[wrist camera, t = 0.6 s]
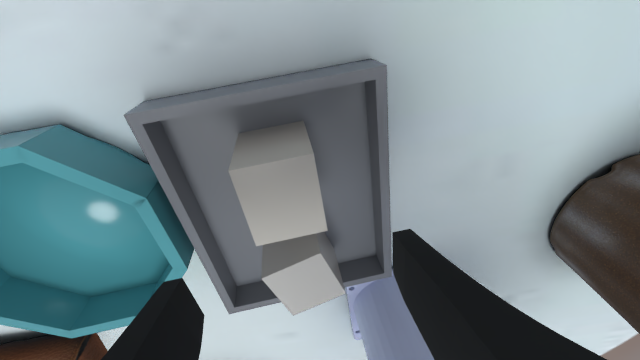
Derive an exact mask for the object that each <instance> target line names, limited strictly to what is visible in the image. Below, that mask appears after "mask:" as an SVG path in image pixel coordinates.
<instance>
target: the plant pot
mask: <svg viewBox="0 0 640 360" xmlns="http://www.w3.org/2000/svg"><path fill="white" fill-rule="evenodd" d="M550 243H551V244H552V246H553V247H554V249H555V253H556V254H557V255H558V256H559V257H560V258H561V259H562V260H563V261H564V262H565V263H566V264H567V265H568V266H569V267H571V268H572V269H573V270H574V271H575V272H576V273H577V274H578V275H579V276H580V277H581V278H582V279H583V280H584V281H585V282H586V283H587V284H588V285H589V286H590V287H591V288H592V289H594V290H595V291H596V292H597V293H598V294H599V295H600V296H601V297H602V298H603V299H604V300H605V301H606V302H607V303H608V304H609V305H610V306H611V307H612V308H613V309H615V310H616V311H617V312H618V313H619V314H620V315H621V316H622V317H623V318H624V319H625V320H626V321H627V322H628V323H629V324H630V325H631V326H632V327H633V328H634V329H635V330H636V331H637V332H638V333H639V334H640V154H639V155H636V156H632V157H629V158H626V159H624V160H621V161H619V162H617V163H615V164H613V165H612V170H611V171H610V172H609V173H607V174H606V175H603V176H601V177H598V178H594V179H590V180H588V181H587V182H586V183H585V184H584V185H582V186H581V187H580V188H579V189H578V190H577V191H576V192H575V193H574V194H573V195H572V196H571V197H570V199H569V200H568V201H567V202H566V203H565V205H564V206H563V208H562V209H561V211H560V212H559V214H558V216H557V217H556V219H555V222H554V224H553V226H552V230H551V234H550Z"/></svg>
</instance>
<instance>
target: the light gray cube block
mask: <svg viewBox="0 0 640 360" xmlns="http://www.w3.org/2000/svg"><path fill="white" fill-rule="evenodd" d="M261 279H262V280H263V281H264V282H265V284H266V285H267V286H268V287H269V288H270V289H271V290H272V292H273V293H274V294H275V295H276V296H277V297H278V299H279V300H280V301H281V302H282V303H283V304H284V305H285V307H286V308H287V309H288V310H289V311H290V312H291V313H292V315H293V316H294V315H296V314H298V313H301V312H303V311H306V310H308V309H310V308H313V307H315V306H318V305H320V304H322V303H325V302H327V301H330V300H332V299H334V298H337V297H339V296H341V295H344V294H346V292H345V288H344V284H343V280H342V277H341V273H340V269H339V266H338V262H337V258H336V255H335V251H334V248H333V246H332V244H331V243H330V241H329V239H328V237H327V236H326V234H325V232H320V233H315V234H310V235H306V236H301V237H297V238H292V239H288V240H283V241H278V242H274V243H269V244H265V245H263V247H262V275H261Z"/></svg>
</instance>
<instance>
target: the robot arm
mask: <svg viewBox="0 0 640 360" xmlns="http://www.w3.org/2000/svg"><path fill="white" fill-rule="evenodd" d="M346 292H347V299H348V305H349V311H350V318H351V324H352V330H353V336H354V339H356V340H359V339H362V340H363V344H364V347H365V351H366V354H367V358H368V360H607V359H604V358H603V357H601V356H599V355H597V354H595V353H593V352H592V351H590V350H588V349H586V348H584V347H582V346H580V345H578V344H577V343H575V342H573V341H571V340H569V339H567V338H565V337H564V336H562V335H560V334H558V333H556V332H555V331H553V330H551V329H549V328H548V327H546V326H544V325H543V324H541V323H539V322H537V321H536V320H534V319H533V318H531V317H529V316H528V315H526V314H524V313H523V312H521V311H520V310H518V309H516V308H515V307H513V306H512V305H510V304H509V303H507V302H506V301H504V300H503V299H501V298H500V297H498V296H497V295H495V294H494V293H492V292H491V291H489V290H488V289H487V288H485V287H484V286H482V285H481V284H479V283H478V282H477V281H475V280H474V279H472V278H471V277H470V276H468V275H467V274H466V273H464V272H463V271H462V270H460V269H459V268H458V267H457V266H455V265H454V264H453V263H451V262H450V261H449V260H447V259H446V258H445V257H444V256H442V255H441V254H440V253H439V252H437V251H436V250H435V249H434V248H433V247H431V246H430V245H429V244H428V243H427V242H425V241H424V240H423V239H422V238H421V237H419V236H418V235H417V234H416V233H415V232H413V231H412V230H411V229H407V230H402V231H398V232H393V269H392V277H388V278H384V279H379V280H375V281H371V282H366V283H362V284H358V285H353V286H349V287H346ZM203 323H204V314H203V312H202V311H201V309H200V307H199V306H198V304H197V302H196V300H195V299H194V297H193V295H192V294H191V292H190V290H189V289H188V287H187V285H186V284H185V282H184V280H183V278H179V279H174V280H170V281H165V282H163V283H162V284H161V286H160V287H159V288H158V289H157V290H156V292H155V293H154V294H153V295H152V297H151V298H150V299H149V300H148V302H147V303H146V304H145V305H144V307H143V308H142V309H141V311H140V312H139V313H138V314H137V316H136V317H135V318H134V319H133V321H132V322H131V323H130V324H129V326H128V327H127V328H126V329H125V331H124V332H123V333H122V334H121V336H120V337H119V338H118V339H117V341H116V342H115V343H114V344H113V346H112V347H111V348H110V349H109V351H108V352H107V353H106V354H105V355H104V356H103V358H102V359H101V360H198V359H199V354H200V349H201V342H202V334H203Z"/></svg>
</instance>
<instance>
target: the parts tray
mask: <svg viewBox="0 0 640 360" xmlns="http://www.w3.org/2000/svg"><path fill="white" fill-rule="evenodd" d="M124 117H125V118H126V120H127V122H128V124H129V126H130V128H131V130H132V132H133V134H134V135H135V137H136V139H137V141H138V143H139V145H140V147H141V149H142V151H143V152H144V154H145V156H146V158H147V160H148V162H149V164H150V166H151V168H152V169H153V171H154V173H155V175H156V177H157V179H158V181H159V183H160V184H161V186H162V188H163V190H164V192H165V194H166V196H167V198H168V200H169V201H170V203H171V205H172V207H173V209H174V211H175V213H176V215H177V217H178V218H179V220H180V222H181V224H182V226H183V228H184V230H185V232H186V234H187V235H188V237H189V239H190V241H191V243H192V245H193V247H194V249H195V251H196V252H197V254H198V256H199V258H200V260H201V262H202V264H203V266H204V268H205V269H206V271H207V273H208V275H209V277H210V279H211V281H212V283H213V284H214V286H215V288H216V290H217V292H218V294H219V296H220V298H221V300H222V301H223V303H224V305H225V307H226V309H227V311H228V313H229V314H232V313H236V312H240V311H245V310H249V309H253V308H258V307H262V306H267V305H271V304H275V303H280V302H281V301H280V300H279V299H278V297H277V296H276V295H275V294H274V293H273V292H272V290H271V289H270V288H269V287H268V286H267V285H266V284H265V282H264V281H263V280H262V279H261V275H262V247H263V245H260V246H256V245H255V242H254V239H253V236H252V234H251V231H250V228H249V226H248V223H247V220H246V217H245V215H244V212H243V209H242V207H241V204H240V201H239V199H238V196H237V193H236V190H235V188H234V185H233V182H232V180H231V177H230V174H229V171H228V170H229V166H230V163H231V159H232V156H233V152H234V148H235V145H236V141H237V137H238V134H239V133H243V132H248V131H254V130H259V129H264V128H269V127H274V126H279V125H284V124H289V123H294V122H299V121H304V124H305V127H306V130H307V133H308V137H309V140H310V143H311V146H312V149H313V153H314V158H315V163H316V169H317V174H318V180H319V185H320V191H321V197H322V202H323V208H324V213H325V219H326V224H327V230H328V231H324V232H325V234H326V236H327V237H328V239H329V241H330V243H331V244H332V246H333V248H334V251H335V255H336V258H337V262H338V266H339V269H340V273H341V277H342V280H343V284H344V288H345V287H349V286H353V285H358V284H362V283H366V282H371V281H375V280H379V279H384V278H388V277H392V267H391V227H390V186H389V146H388V106H387V66H386V65H385V64H382V63H380V62H378V61H375V60H373V59H368V60H362V61H357V62H352V63H347V64H341V65H336V66H331V67H325V68H320V69H315V70H309V71H304V72H299V73H293V74H288V75H283V76H277V77H272V78H267V79H261V80H256V81H251V82H245V83H240V84H235V85H229V86H224V87H219V88H214V89H208V90H203V91H198V92H192V93H187V94H182V95H176V96H171V97H166V98H160V99H155V100H150V101H144V102H142V103H141V104H139V105H138V106H136V107H135V108H133V109H132V110H130V111H129V112H128V113H126V114H125V115H124Z"/></svg>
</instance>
